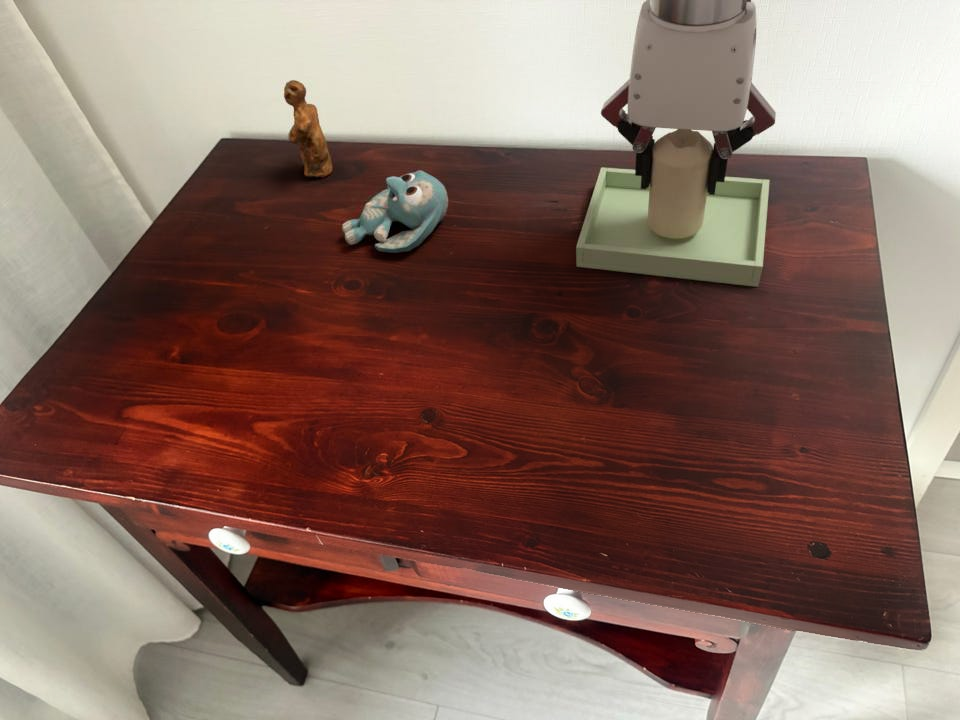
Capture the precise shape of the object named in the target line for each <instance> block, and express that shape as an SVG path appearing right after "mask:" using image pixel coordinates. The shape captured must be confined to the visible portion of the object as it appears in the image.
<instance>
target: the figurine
mask: <svg viewBox="0 0 960 720" xmlns="http://www.w3.org/2000/svg"><path fill="white" fill-rule="evenodd" d="M306 96H307V88H306V86H305V85H304V84H303V83H302V82H300V81H298V80H297V79H296V80H295V79H292V80H289V81H287V82H286V83H285V85H284V88H283V98H284V100H285V102H286V103H287V104H288V105H289V106H291V107H293V121H294V122H293V125H292V126H291V128H290V129H289V132H288V134H287V135H288V136H287V137H288V140H289V141H290V143H291V144H295V145H297V146H298V148H299V149H300V150H299V153H300V157H301V159H302V163H303V166H304V168H303V169H304V172H303V174H304V176H305V177H307V178H310V179H312V178H313V177H314V178H316V179H317V178H321V179H322V178H326V177H327V176H328V175H330V174H331V173H332V171H333V170H334V165H333V163H332V158H331V155H330V153H329V152H330V151H329V149H328V143H327V140H326V137H325V135H324V132H323V129H322V126H321V125H320V119H319V113H318V109H317V106H316V105H315V104H313V103H307V100H306Z"/></svg>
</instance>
